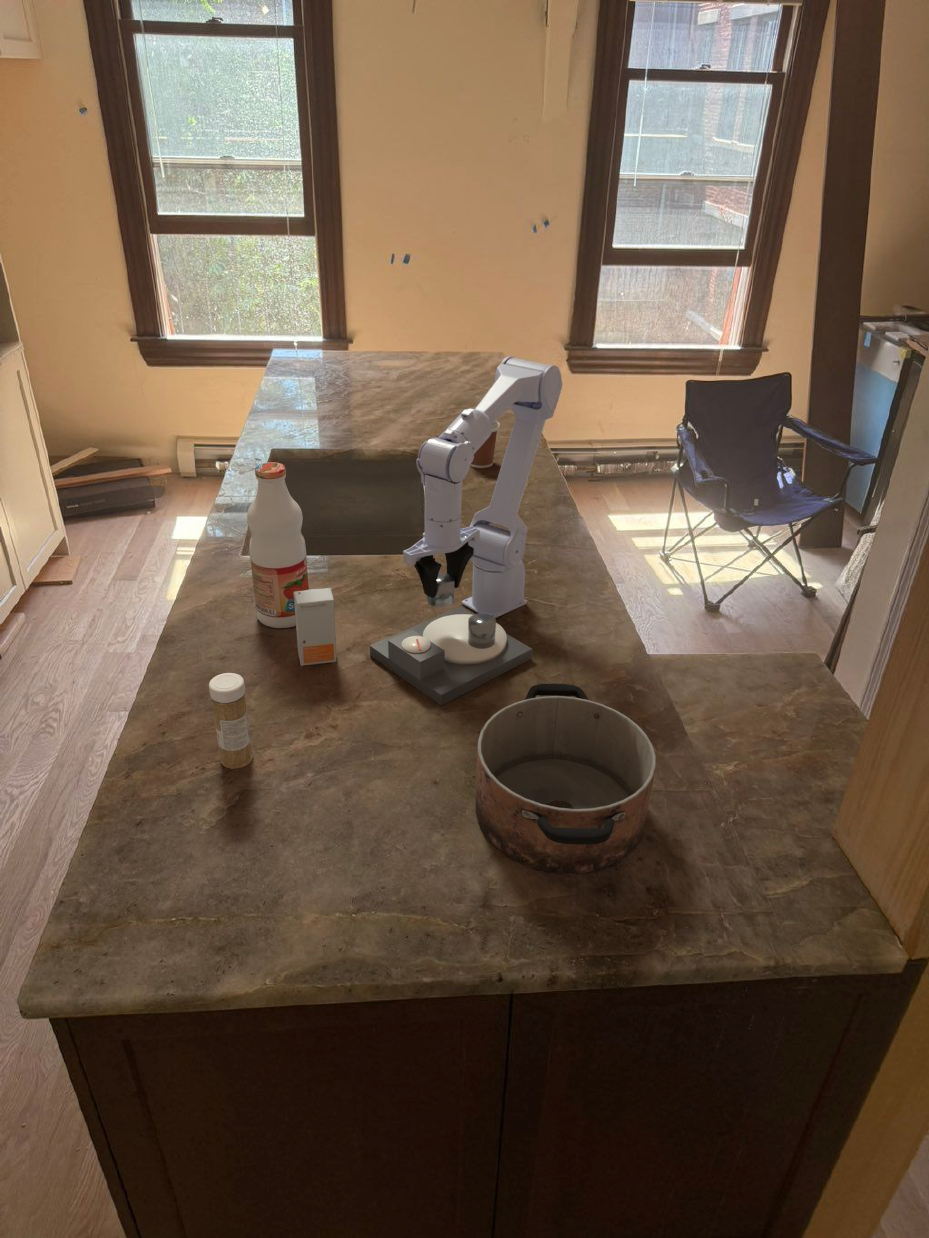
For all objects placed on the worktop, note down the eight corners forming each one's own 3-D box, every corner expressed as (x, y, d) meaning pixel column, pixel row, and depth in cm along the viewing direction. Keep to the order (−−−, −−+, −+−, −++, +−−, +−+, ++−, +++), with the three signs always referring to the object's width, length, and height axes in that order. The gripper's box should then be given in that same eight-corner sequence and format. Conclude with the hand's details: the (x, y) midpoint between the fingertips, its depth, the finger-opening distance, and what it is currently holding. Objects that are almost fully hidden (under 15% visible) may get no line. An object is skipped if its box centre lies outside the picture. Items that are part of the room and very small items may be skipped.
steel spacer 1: (440, 590, 148) (441, 569, 146) (459, 600, 145) (460, 579, 143) (421, 599, 145) (421, 578, 143) (440, 610, 143) (440, 588, 140)
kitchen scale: (459, 615, 157) (460, 586, 154) (531, 658, 146) (533, 628, 143) (370, 655, 146) (369, 624, 143) (441, 705, 134) (441, 673, 131)
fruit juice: (265, 600, 160) (250, 455, 146) (316, 604, 159) (306, 458, 145) (250, 627, 152) (232, 476, 137) (303, 631, 151) (291, 480, 137)
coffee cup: (456, 459, 223) (457, 413, 217) (488, 455, 227) (490, 409, 220) (471, 472, 216) (473, 425, 210) (504, 467, 220) (507, 420, 213)
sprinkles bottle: (222, 749, 124) (211, 671, 117) (255, 748, 125) (245, 670, 118) (218, 771, 120) (205, 692, 113) (251, 769, 121) (241, 690, 114)
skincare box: (300, 667, 142) (295, 603, 136) (297, 653, 146) (292, 590, 139) (338, 662, 144) (334, 599, 137) (334, 648, 147) (330, 586, 141)
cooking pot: (473, 737, 128) (476, 677, 123) (624, 740, 129) (634, 681, 123) (476, 900, 103) (480, 833, 97) (665, 903, 103) (679, 837, 98)
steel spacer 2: (481, 631, 148) (482, 610, 145) (500, 642, 145) (501, 621, 143) (462, 640, 145) (462, 619, 143) (480, 651, 142) (481, 630, 140)
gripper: (460, 495, 144) (458, 568, 151) (390, 518, 135) (391, 594, 142) (489, 509, 139) (486, 583, 146) (419, 534, 131) (419, 611, 138)
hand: (441, 590), depth 144 cm, fingers closed on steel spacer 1, 4 cm apart
